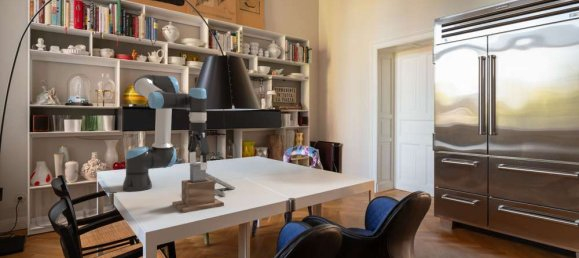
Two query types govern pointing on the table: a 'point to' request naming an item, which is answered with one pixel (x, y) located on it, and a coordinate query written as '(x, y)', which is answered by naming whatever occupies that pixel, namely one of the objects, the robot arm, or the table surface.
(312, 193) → the table surface
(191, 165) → the steel bracket
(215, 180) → the door handle
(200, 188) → the brown wooden stand
